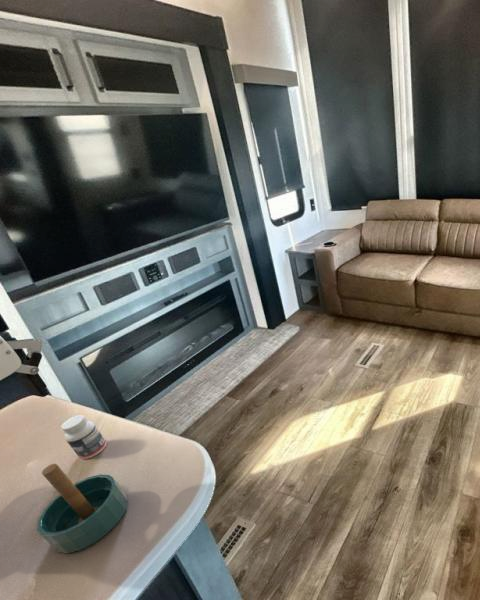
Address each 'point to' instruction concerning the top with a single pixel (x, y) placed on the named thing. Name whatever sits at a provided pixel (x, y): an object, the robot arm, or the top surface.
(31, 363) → the robot arm
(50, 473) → the wooden peg
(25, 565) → the top surface
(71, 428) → the pill bottle
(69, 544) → the bowl
